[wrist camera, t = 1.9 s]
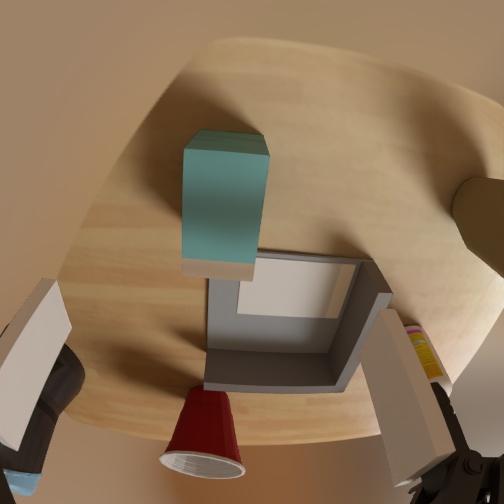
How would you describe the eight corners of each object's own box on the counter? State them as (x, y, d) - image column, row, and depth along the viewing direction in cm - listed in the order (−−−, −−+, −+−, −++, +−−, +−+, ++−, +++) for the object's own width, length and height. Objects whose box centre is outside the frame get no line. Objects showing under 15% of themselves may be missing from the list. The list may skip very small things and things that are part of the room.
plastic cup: (154, 384, 40) (140, 458, 30) (219, 366, 38) (214, 451, 28) (197, 418, 45) (191, 484, 35) (257, 404, 43) (260, 476, 33)
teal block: (250, 234, 28) (252, 281, 22) (195, 230, 28) (182, 275, 22) (263, 135, 24) (270, 155, 18) (200, 129, 23) (183, 148, 17)
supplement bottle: (370, 347, 37) (399, 432, 26) (410, 315, 34) (452, 399, 23) (395, 363, 39) (423, 438, 28) (431, 334, 37) (469, 409, 26)
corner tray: (207, 353, 36) (203, 389, 32) (210, 246, 29) (204, 281, 24) (334, 358, 38) (343, 392, 33) (373, 260, 30) (393, 293, 25)
